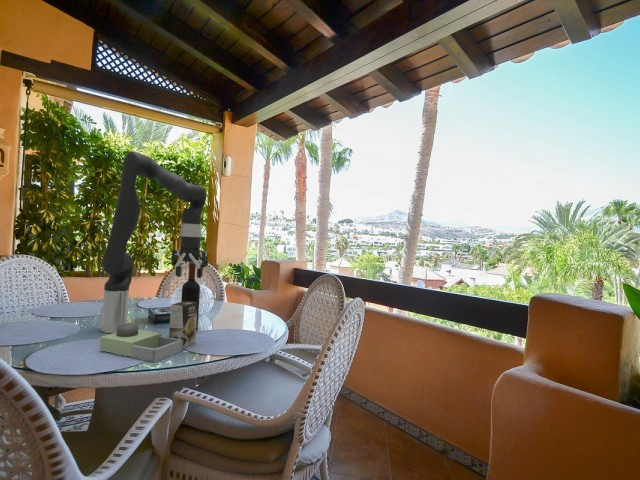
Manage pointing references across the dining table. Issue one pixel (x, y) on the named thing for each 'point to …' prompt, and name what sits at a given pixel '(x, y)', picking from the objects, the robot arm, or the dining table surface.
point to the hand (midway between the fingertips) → (188, 277)
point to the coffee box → (183, 322)
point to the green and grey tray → (140, 343)
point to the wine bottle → (191, 289)
